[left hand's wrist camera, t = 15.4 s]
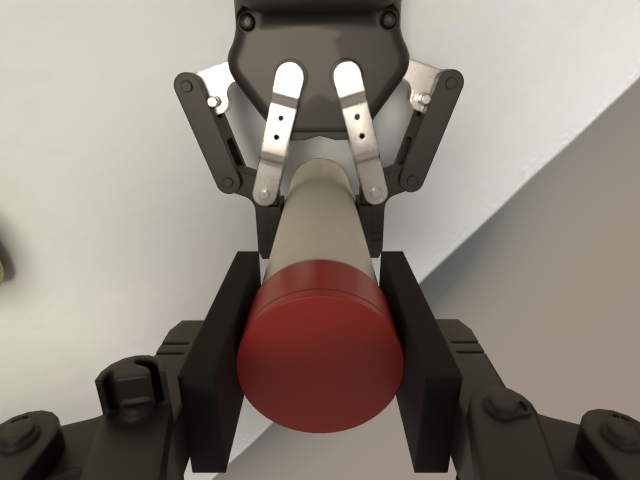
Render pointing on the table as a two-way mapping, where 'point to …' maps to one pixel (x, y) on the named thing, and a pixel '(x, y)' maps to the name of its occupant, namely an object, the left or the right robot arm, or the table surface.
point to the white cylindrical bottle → (319, 221)
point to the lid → (320, 348)
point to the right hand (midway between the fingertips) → (321, 261)
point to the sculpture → (1, 273)
